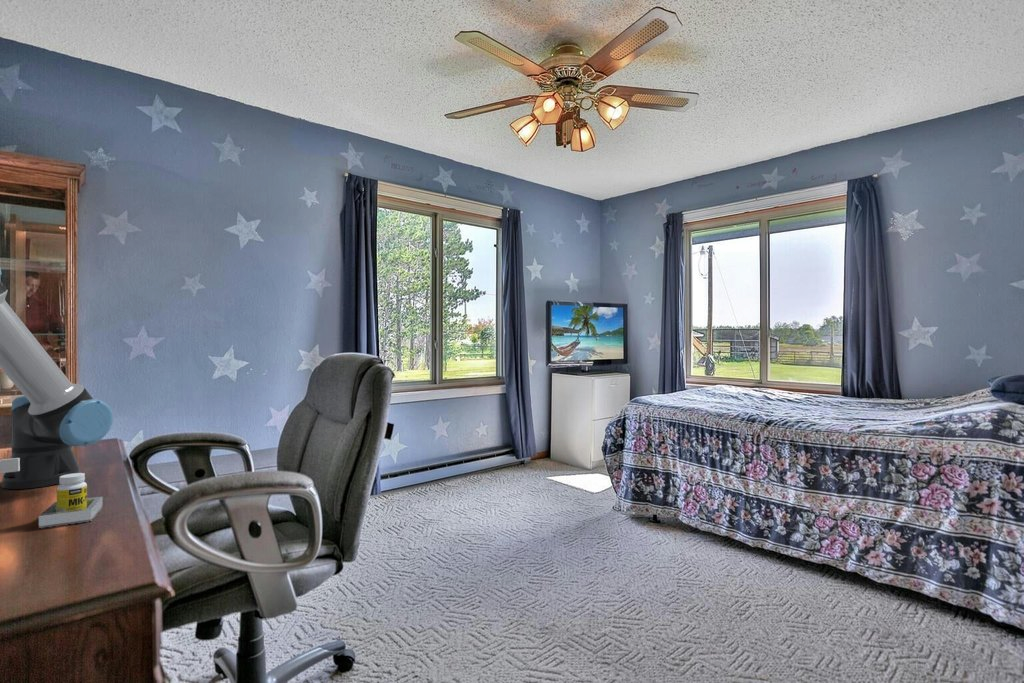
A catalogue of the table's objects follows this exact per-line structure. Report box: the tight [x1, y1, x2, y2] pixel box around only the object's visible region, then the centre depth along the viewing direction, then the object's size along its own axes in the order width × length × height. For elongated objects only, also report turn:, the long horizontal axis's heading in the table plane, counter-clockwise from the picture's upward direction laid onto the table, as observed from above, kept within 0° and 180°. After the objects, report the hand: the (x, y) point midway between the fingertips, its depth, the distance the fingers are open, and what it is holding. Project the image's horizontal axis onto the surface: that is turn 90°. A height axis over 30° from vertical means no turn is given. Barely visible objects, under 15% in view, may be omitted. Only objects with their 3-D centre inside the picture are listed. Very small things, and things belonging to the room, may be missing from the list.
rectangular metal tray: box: [38, 496, 104, 529], centre depth 105 cm, size 10×8×2 cm
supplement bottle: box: [56, 472, 88, 512], centre depth 104 cm, size 5×5×8 cm
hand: (6, 472), depth 99 cm, fingers open, 13 cm apart
